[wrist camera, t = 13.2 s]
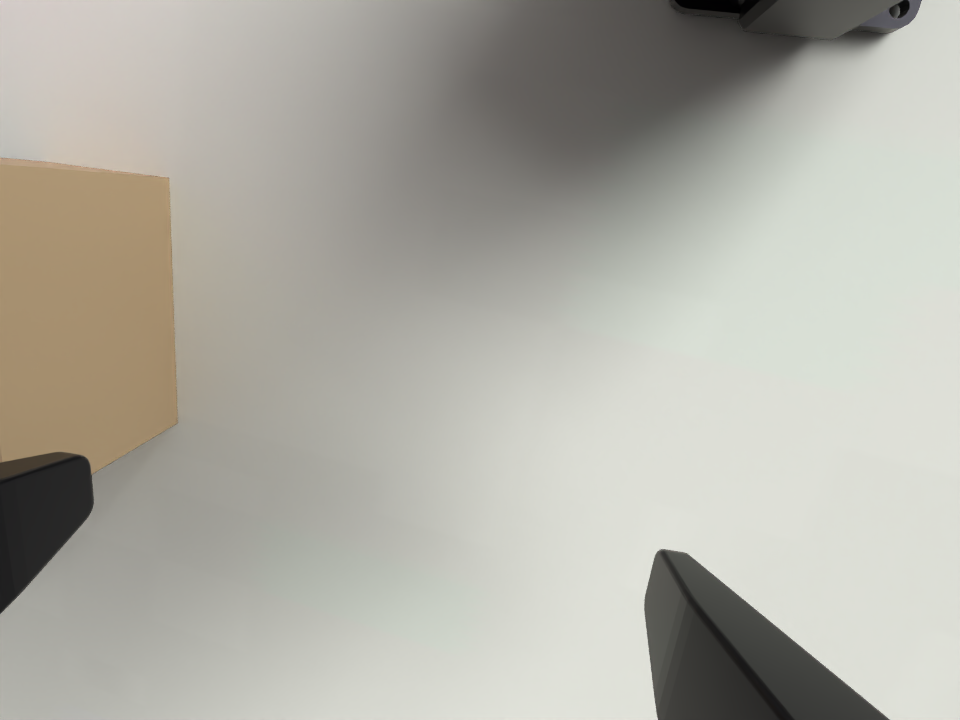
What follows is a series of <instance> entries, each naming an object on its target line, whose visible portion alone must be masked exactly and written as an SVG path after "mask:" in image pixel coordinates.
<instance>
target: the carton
mask: <svg viewBox="0 0 960 720" xmlns="http://www.w3.org/2000/svg"><path fill="white" fill-rule="evenodd" d="M177 423H178V418H177V390H176V362H175V333H174V305H173V277H172V249H171V220H170V192H169V178H166V177H158V176H151V175H143V174H135V173H128V172H120V171H112V170H104V169H97V168H89V167H81V166H73V165H66V164H58V163H50V162H42V161H31V160H21V159H10V158H0V462H5V461H11V460H16V459H21V458H26V457H32V456H37V455H42V454H48V453H53V452H67V453H73V454H79V455H83V456H85V457H86V458H87V459H88V460H89V462H90V465H91V474H93V473H95V472H97V471H98V470H100V469H102V468H103V467H105V466H107V465H108V464H110V463H112V462H113V461H115V460H117V459H118V458H120V457H122V456H123V455H125V454H127V453H128V452H130V451H132V450H133V449H135V448H137V447H138V446H140V445H142V444H143V443H145V442H147V441H148V440H150V439H152V438H153V437H155V436H157V435H158V434H160V433H162V432H163V431H165V430H167V429H168V428H170V427H172V426H173V425H175V424H177Z"/></svg>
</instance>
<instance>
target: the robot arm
mask: <svg viewBox="0 0 960 720" xmlns="http://www.w3.org/2000/svg"><path fill="white" fill-rule="evenodd" d="M921 1H922V0H670V3H671V6H672V7H673V8H674V9H675V10H676V11H677V12H680V13H683V14H693V15H703V16H714V17H724V18H734V19H738V24H739V25H740V27H741V28H742V29H743V30H744V31H746V32H756V33H766V34H776V35H786V36H796V37H806V38H816V39H826V40H833V39H836V38H837V37H839V36H841V35H843V34H845V33H846V32H848V31H850V30H856V31H866V32H876V33H891V32H894V31H896V30H898V29H900V28H902V27H904V26H906V25H908V24H909V23H910V22H911V21H912V20H913V19H914V18H915V16H916V14H917V12H918V10H919V7H920V4H921ZM896 4H898V5H899V7H900V15H899V16H898V18H897V19H896V18H893V17H891V15H890V13H889V8H890V7H892V6H894V5H896ZM93 504H94V497H93V485H92V474H91V465H90V462H89V460H88V459H87V458H86V457H85V456H83V455H79V454H73V453H67V452H53V453H48V454H42V455H37V456H32V457H26V458H21V459H16V460H11V461H5V462H0V614H1V613H2V612H3V611H4V610H5V609H6V608H7V607H8V606H9V605H10V604H11V603H12V602H13V601H14V600H15V599H16V598H17V597H18V596H19V595H20V594H21V592H22V591H23V590H24V589H25V588H26V587H27V586H28V585H29V584H30V583H31V581H32V580H33V579H34V578H35V577H36V576H37V575H38V574H39V572H40V571H41V570H42V569H43V568H44V567H45V566H46V564H47V563H48V562H49V561H50V560H51V559H52V558H53V557H54V555H55V554H56V553H57V552H58V551H59V550H60V549H61V547H62V546H63V545H64V544H65V543H66V542H67V541H68V540H69V538H70V537H71V536H72V535H73V534H74V533H75V532H76V530H77V529H78V528H79V527H80V526H81V525H82V524H83V523H84V521H85V520H86V519H87V518H88V517H89V515H90V513H91V511H92V508H93ZM644 610H645V620H646V628H647V637H648V646H649V654H650V663H651V671H652V680H653V689H654V697H655V704H656V712H657V717H658V720H890V719H888V718H887V717H886V716H885V715H883V714H882V713H881V712H880V711H879V710H877V709H876V708H875V707H874V706H873V705H871V704H870V703H869V702H868V701H866V700H865V699H864V698H863V697H862V696H860V695H859V694H858V693H857V692H855V691H854V690H853V689H852V688H851V687H849V686H848V685H847V684H846V683H844V682H843V681H842V680H841V679H840V678H838V677H837V676H836V675H835V674H834V673H832V672H831V671H830V670H829V669H827V668H826V667H825V666H824V665H823V664H821V663H820V662H819V661H818V660H816V659H815V658H814V657H813V656H812V655H810V654H809V653H808V652H807V651H805V650H804V649H803V648H802V647H801V646H799V645H798V644H797V643H796V642H794V641H793V640H792V639H791V638H790V637H788V636H787V635H786V634H785V633H784V632H782V631H781V630H780V629H779V628H777V627H776V626H775V625H774V624H773V623H771V622H770V621H769V620H768V619H766V618H765V617H764V616H763V615H762V614H760V613H759V612H758V611H757V610H755V609H754V608H753V607H752V606H751V605H749V604H748V603H747V602H746V601H744V600H743V599H742V598H741V597H740V596H738V595H737V594H736V593H735V592H734V591H732V590H731V589H730V588H729V587H727V586H726V585H725V584H724V583H723V582H721V581H720V580H719V579H718V578H716V577H715V576H714V575H713V574H712V573H710V572H709V571H708V570H707V569H705V568H704V567H703V566H702V565H701V564H699V563H698V562H697V561H696V560H695V559H693V558H692V557H691V556H690V555H688V554H687V553H684V552H678V551H672V550H666V549H661V550H659V551H658V552H657V553H656V555H655V558H654V562H653V566H652V570H651V574H650V578H649V582H648V586H647V590H646V595H645V604H644Z"/></svg>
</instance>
